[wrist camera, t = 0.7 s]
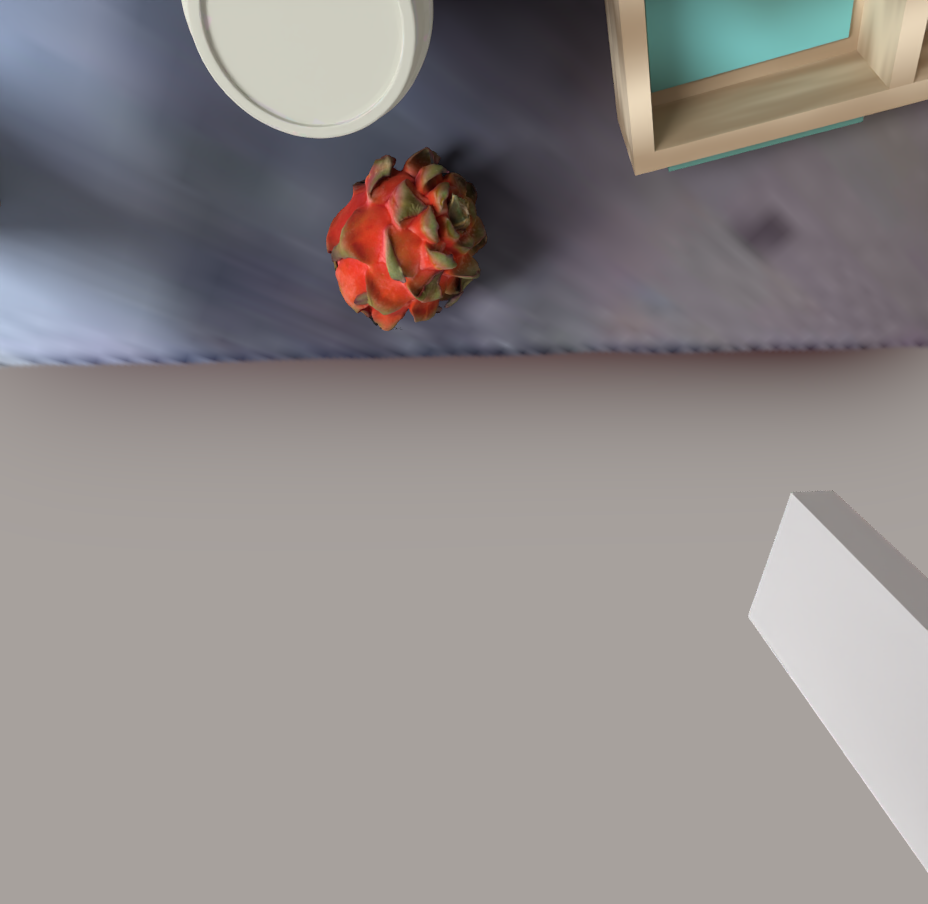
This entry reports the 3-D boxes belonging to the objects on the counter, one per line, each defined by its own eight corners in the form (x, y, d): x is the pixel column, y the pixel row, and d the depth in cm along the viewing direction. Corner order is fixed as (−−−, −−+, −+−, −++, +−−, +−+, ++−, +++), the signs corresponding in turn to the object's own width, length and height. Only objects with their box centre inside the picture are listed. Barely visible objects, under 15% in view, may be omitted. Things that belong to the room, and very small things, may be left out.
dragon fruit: (463, 102, 39) (391, 248, 48) (330, 108, 34) (278, 269, 43) (545, 221, 37) (453, 348, 47) (417, 246, 32) (343, 382, 42)
